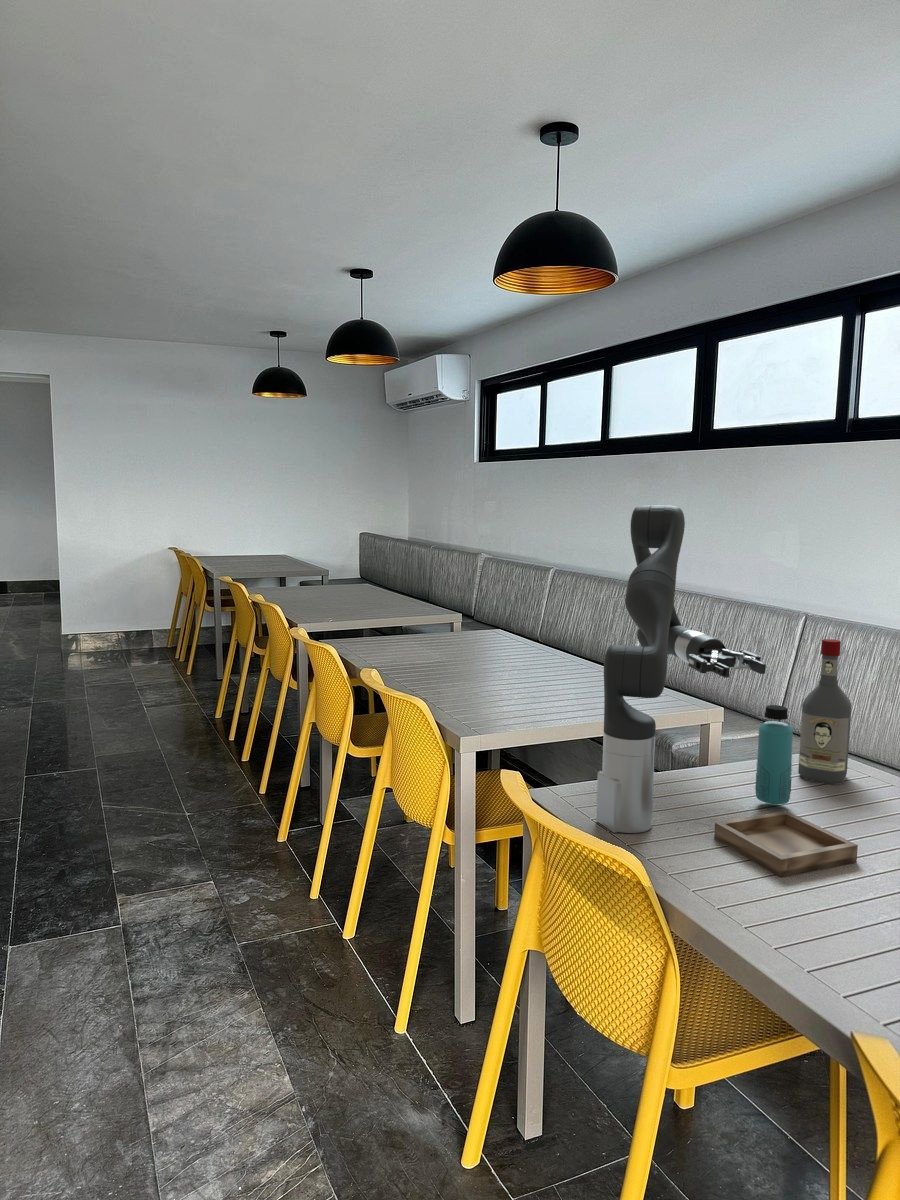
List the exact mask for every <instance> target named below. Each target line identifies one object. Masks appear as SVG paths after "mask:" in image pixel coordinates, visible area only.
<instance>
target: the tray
mask: <svg viewBox="0 0 900 1200" xmlns="http://www.w3.org/2000/svg"><path fill="white" fill-rule="evenodd" d="M713 838H714V840H715V841H718V842H719V843H721V844H722V845H724V846H725V847H728V848H729V849H730V850H733V851H735V852H736V853H738V854H739V853H740V854H739V855H741V856H743V857H745V858H747V859H748V860H749V861H752V862H753V863H754V864H756V865H758V866H759V867H762V868H763V869H765V870H767V871H769V872H770V873H772V874H774V875H775V876H777V877H778V878H785V877H789V876H790V877H791V876H795V875H800V874H804V873H810V872H815V871H819V870H820V871H821V870H825V869H830V868H835V867H840V866H845V865H850V864H855V863H857V862H858V848H859V845H858V844H857V843H854V842H852V841H850V840H849V839H846V838H844V837H842V836H840V835H837V834H836V833H834V832H832V831H830V830H827V829H825V828H823V827H821V826H819V825H817V824H815V823H813V822H811V821H809V820H806V819H805V818H802V817H800V816H798V815H796V814H794V813H793V812H792V813H791V812H789V811H788V810H784V811H777V812H771V813H765V814H756V815H753V816H747V817H746V816H745V817H740V818H734V819H728V820H721V821H715V822H714V834H713Z"/></svg>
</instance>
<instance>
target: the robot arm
mask: <svg viewBox="0 0 900 1200" xmlns="http://www.w3.org/2000/svg"><path fill="white" fill-rule="evenodd" d="M630 517H631V518H630V537H631V538H630V539H631V543H632V544H631V545H632V549H633V554H634V557H635V558H634V559H635V563H636V567H635V568H634V569H633V570H632V572H631V573H630V575H629V578H628V580H627V581H628V582H627V587H626V592H625V598H624V603H625V608H626V610H627V613H628V614H629V617H630V618H631V619H632V621H633V622H634V623H635V625H636V626H637V627H638V630H637V632H636V635H637V636H636V637H637V640H638V642H639V644H640V645H631V644H630V645H626V644H612V645H610V646H609V647H608V648H607V650H606V651H605V656H604V660H603V693H604V696H603V699H604V701H603V703H604V705H603V707H604V708H603V711H604V713H603V740H602V741H603V743H602V766H601V767H602V769H601V770H599V771H597V778H596V779H597V780H596V781H597V783H596V788H597V789H596V809H595V810H596V813H595V814H596V815H595V816H596V817H595V820H596V822H597V823H599V824H601V825H602V826H603V827H605V828H606V829H608V830H609V831H610V832H612V833H626V834H639V833H644V832H647V831H649V830H650V829H651V828H652V826H653V804H654V801H653V799H654V775H655V772H654V771H655V753H656V752H655V751H656V730H657V729H656V727H657V726H656V720H655V719H654V718H653V716H651V715H649V714H647V713H645V712H643V711H641V710H638V709H637V708H635V707H633V706H632V705H631V704H629V703H628V702H627V701H626V700H625V699H624V697H628V698H629V697H630V698H639V699H640V698H642V699H656V698H659V697H660V696H661V695H662V694H663V692H664V689H665V686H666V682H667V681H666V680H667V670H668V669H667V668H668V655H673V656H675V657H676V658H678V659H681V660H682V661H684V663H686V664H688V667H689V668H691V669H693V670H695V671H697V672H698V673H700V674H702V675H703V674H707V673H710V674H716V675H718V676H720V677H722V678H725V679H727V678H729V677H730V671H731V670H730V669H734V670H739V671H741V670H743V669H747V670H751V671H753V672H756V673H758V674H760V675H764V674H766V667H767V666H766V665H767V664H765V662H762V661H761V658H762V657H761V655H759V654H756V653H754V652H751V651H748V650H745V649H739V650H738V652H737V651H733V650H731V649H729V648H726V646H725V644H724V643H723V641H721V640H720V639H718V638H715V637H713V636H710V635H708V634H707V633H703V632H702V631H697V630H693V629H691V628H689V627H686V626H683V625H682V623H681V621H680V618H679V617H678V616H679V615H678V613H677V611H676V608H675V595H676V594H675V593H676V584H677V571H678V562H679V557H680V552H681V548H682V545H683V544H682V543H683V539H684V534H685V527H686V526H685V525H686V524H685V522H686V521H685V515H684V512H683V510H682V509H681V508H680V507H679V506H677V505H665V504H662V505H658V504H657V505H656V504H655V505H646V504H645V505H638V506H636V507H634V509H633V510H632V513H631V516H630ZM650 549H657V550H656V551H654V552H653V553H652V552H651V550H650ZM737 660H738V664H736V663H737Z"/></svg>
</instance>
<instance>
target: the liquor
mask: <svg viewBox="0 0 900 1200" xmlns="http://www.w3.org/2000/svg"><path fill="white" fill-rule="evenodd" d="M841 642H842V641H841V640H839V639H834V638H833V639H832V638H825V639H821V647H820V649H821V650H820V654H821V656H822V657H821V666H820V667H821V669H820V678H819V681H818V684H817V685H816V686H815V687H814V688H813V689H812V690H811V691H810V692H809V693H808V694H807V695H806V697H805V698H804V701H803V702H802V704H801V705H802V706H801V722H800V735H799V736H800V737H799V738H800V739H799V754H798V755H799V756H798V769H797V770H798V771H797V773H798V774H799V777H800V778H802V779H804V780H806V781H811V782H816V783H822V784H828V785H840V784H843V782H844V781H845V780H846V777H847V775H848V774H847V773H848V762H849V750H850V749H849V748H850V747H849V746H850V733H851V732H850V731H851V720H852V719H851V718H852V717H851V716H852V701H851V699H850V698H849V697H848V695H847V694H846V693H845V692H844V691H843V690H842V688H841V687H840V686H839V680H838V664H839V663H838V662H839V657H840V656H841V644H842V643H841Z"/></svg>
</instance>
